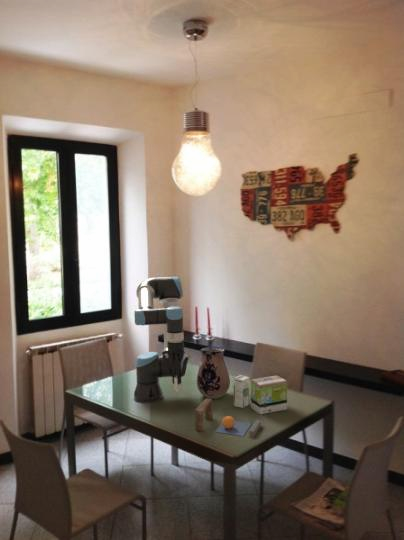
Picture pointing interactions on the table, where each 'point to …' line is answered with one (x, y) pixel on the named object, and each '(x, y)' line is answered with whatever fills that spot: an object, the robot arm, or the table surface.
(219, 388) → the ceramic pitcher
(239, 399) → the syrup box
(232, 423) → the ball
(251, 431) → the stopper
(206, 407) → the bridge
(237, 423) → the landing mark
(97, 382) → the table surface
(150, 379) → the robot arm
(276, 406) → the tea box
